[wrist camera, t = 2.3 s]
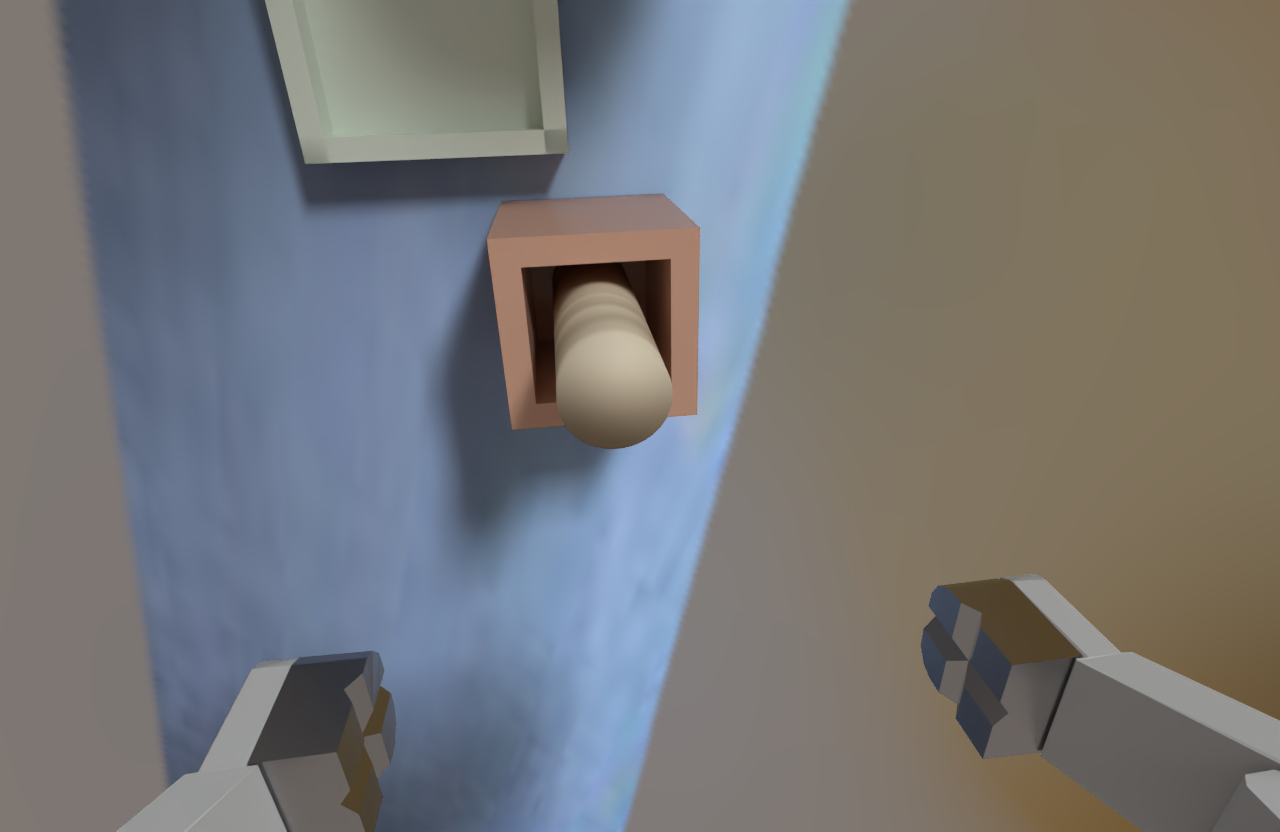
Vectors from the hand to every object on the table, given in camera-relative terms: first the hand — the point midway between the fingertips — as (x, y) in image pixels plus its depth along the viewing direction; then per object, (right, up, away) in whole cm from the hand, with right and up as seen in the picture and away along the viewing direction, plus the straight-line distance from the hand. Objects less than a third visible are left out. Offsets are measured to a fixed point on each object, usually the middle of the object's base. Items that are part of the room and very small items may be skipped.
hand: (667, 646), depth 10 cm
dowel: (-2, +9, +17) cm, 19 cm away
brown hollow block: (-3, +9, +17) cm, 20 cm away
